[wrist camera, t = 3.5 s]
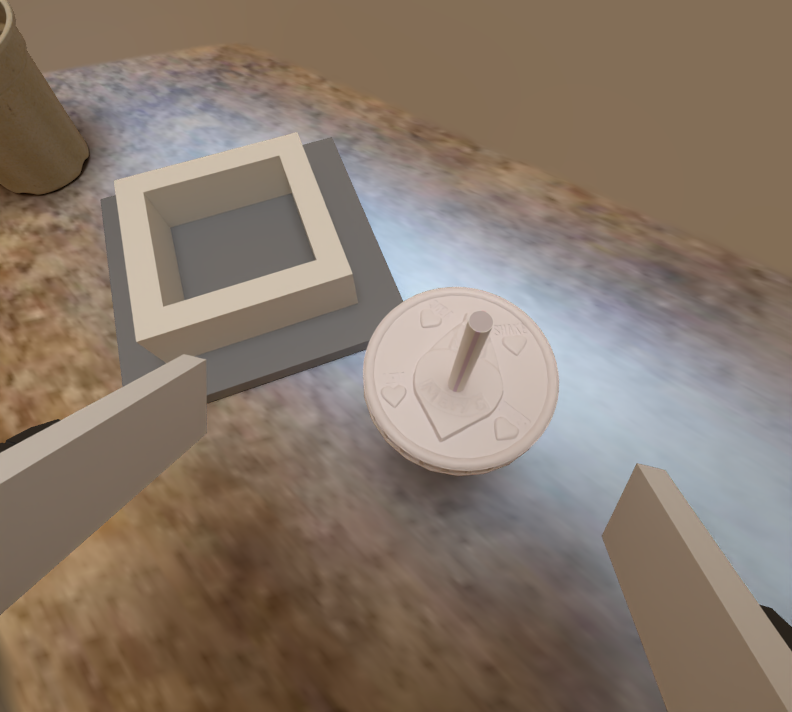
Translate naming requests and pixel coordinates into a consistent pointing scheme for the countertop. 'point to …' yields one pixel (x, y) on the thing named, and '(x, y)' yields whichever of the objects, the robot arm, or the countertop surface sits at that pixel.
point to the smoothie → (460, 381)
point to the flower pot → (32, 121)
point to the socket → (244, 265)
